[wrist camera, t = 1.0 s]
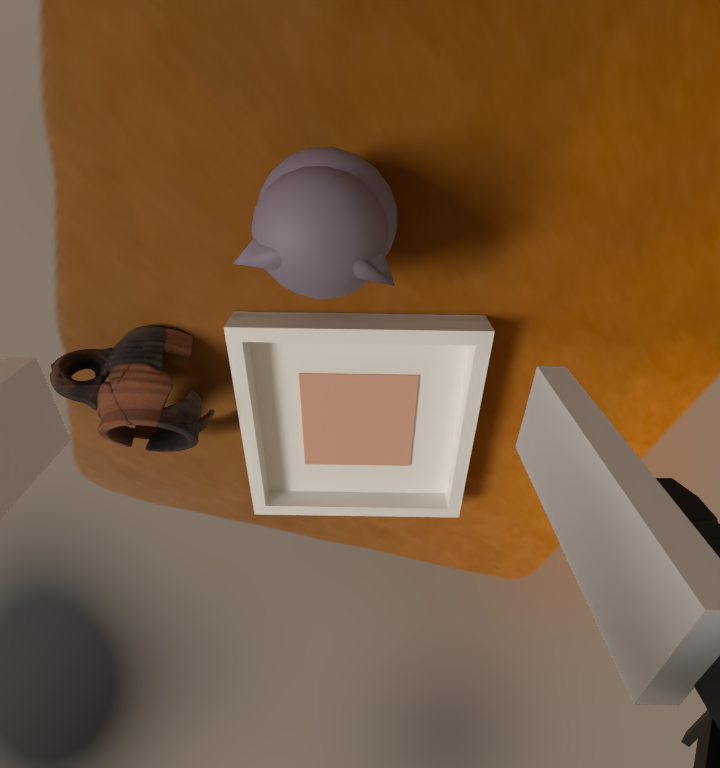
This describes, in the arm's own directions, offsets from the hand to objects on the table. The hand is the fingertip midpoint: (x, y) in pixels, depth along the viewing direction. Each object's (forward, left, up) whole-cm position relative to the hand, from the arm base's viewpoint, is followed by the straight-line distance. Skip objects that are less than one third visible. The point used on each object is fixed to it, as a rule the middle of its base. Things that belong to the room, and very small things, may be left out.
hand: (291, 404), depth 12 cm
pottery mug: (+16, +12, -23) cm, 31 cm away
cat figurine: (0, -1, -23) cm, 23 cm away
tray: (-2, +17, -23) cm, 28 cm away
